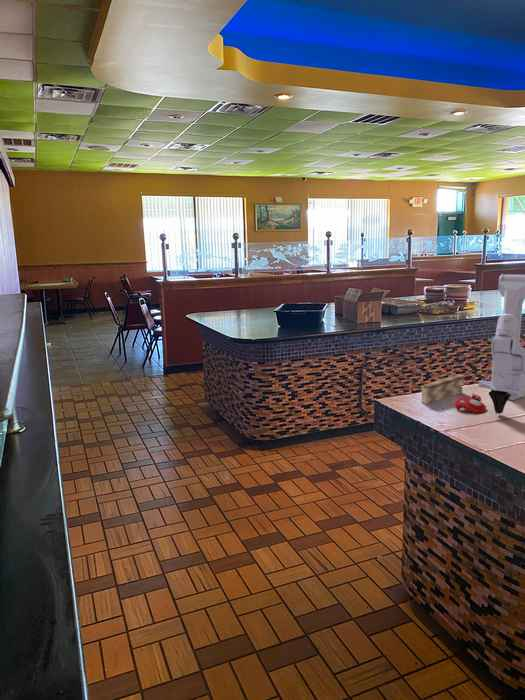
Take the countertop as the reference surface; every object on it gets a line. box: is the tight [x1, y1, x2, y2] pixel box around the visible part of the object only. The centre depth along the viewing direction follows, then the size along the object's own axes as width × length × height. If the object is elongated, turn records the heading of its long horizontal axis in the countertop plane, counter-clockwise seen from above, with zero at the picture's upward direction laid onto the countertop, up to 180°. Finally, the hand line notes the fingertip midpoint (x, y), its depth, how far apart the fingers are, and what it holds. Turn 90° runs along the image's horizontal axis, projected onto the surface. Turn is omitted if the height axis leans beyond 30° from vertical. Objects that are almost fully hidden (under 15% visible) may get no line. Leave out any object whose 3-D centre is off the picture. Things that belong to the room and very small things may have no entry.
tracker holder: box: [454, 392, 487, 414], centre depth 181 cm, size 12×4×10 cm
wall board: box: [421, 373, 466, 405], centre depth 191 cm, size 20×3×7 cm, turn 124°
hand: (498, 412), depth 172 cm, fingers closed
